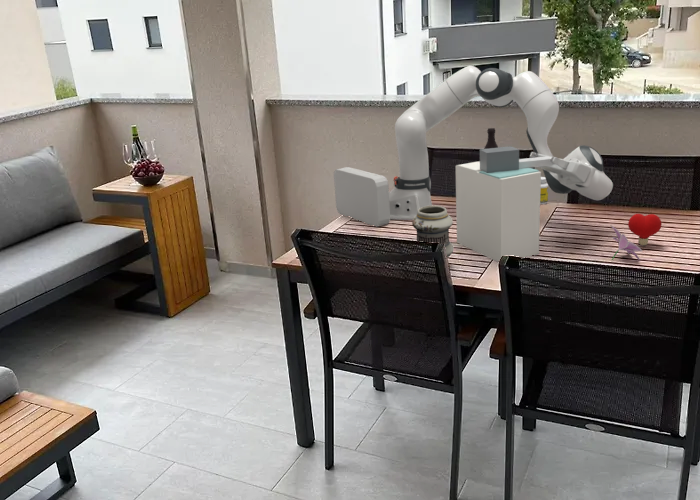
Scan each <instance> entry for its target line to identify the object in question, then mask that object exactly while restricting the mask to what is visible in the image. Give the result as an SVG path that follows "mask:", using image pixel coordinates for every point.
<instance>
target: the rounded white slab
mask: <svg viewBox="0 0 700 500" xmlns="http://www.w3.org/2000/svg"><path fill="white" fill-rule="evenodd" d="M333 182H334V194H335V208H336V211H337V213H338V214H339V215H342V216H344V215H345V216H344V217H347V216H350V217H352V218H354V219H353V220H355V219H357V220H356V221H358V220H359V221H358V222H360V221H362V222H361V223H363V222H365V223H364V224H366V223H367V224H366V225H369V224H370V225H369V226H371V225H374V226H376V227H381V226H385V225H388V224H389V223H390V221H391V219H390V206H389V192H390V189H389V181H388V178H387V177H386V176H384V175H382V174H377V173H373V172H369V171H365V170H362V169H357V168H355V167H354V168H353V167H349V166H345V167H341V168H337V169H334V172H333ZM352 218H351V219H352ZM374 226H373V227H374ZM376 227H375V228H376Z"/></svg>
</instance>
